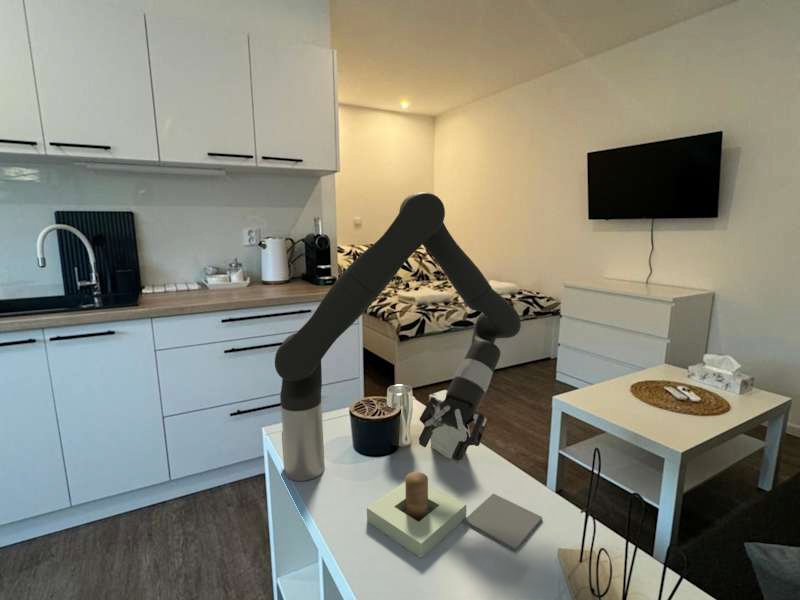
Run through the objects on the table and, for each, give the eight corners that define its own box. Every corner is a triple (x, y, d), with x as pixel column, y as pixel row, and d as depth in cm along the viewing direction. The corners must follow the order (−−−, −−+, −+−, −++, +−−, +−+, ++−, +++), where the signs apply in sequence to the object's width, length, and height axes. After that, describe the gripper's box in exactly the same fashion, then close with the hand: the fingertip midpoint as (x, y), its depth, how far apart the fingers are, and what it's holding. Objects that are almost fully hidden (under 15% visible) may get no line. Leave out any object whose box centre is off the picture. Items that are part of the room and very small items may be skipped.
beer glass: (383, 445, 111) (382, 392, 109) (393, 433, 118) (392, 382, 115) (408, 450, 109) (407, 395, 106) (416, 437, 115) (416, 385, 113)
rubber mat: (464, 522, 83) (464, 519, 82) (493, 495, 90) (493, 493, 90) (515, 551, 75) (515, 548, 75) (542, 519, 83) (542, 516, 83)
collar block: (367, 521, 83) (366, 507, 83) (413, 488, 93) (413, 476, 93) (421, 558, 74) (421, 543, 73) (466, 517, 84) (466, 504, 83)
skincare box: (466, 453, 107) (468, 398, 104) (448, 461, 104) (449, 404, 101) (445, 439, 114) (446, 388, 111) (428, 446, 111) (428, 393, 108)
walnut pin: (401, 520, 84) (400, 479, 82) (415, 509, 87) (415, 469, 85) (418, 530, 81) (417, 488, 79) (432, 518, 84) (432, 478, 82)
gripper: (437, 368, 95) (403, 434, 89) (492, 384, 86) (459, 459, 79) (450, 384, 100) (419, 447, 94) (504, 400, 90) (474, 472, 84)
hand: (437, 452), depth 87 cm, fingers open, 8 cm apart
